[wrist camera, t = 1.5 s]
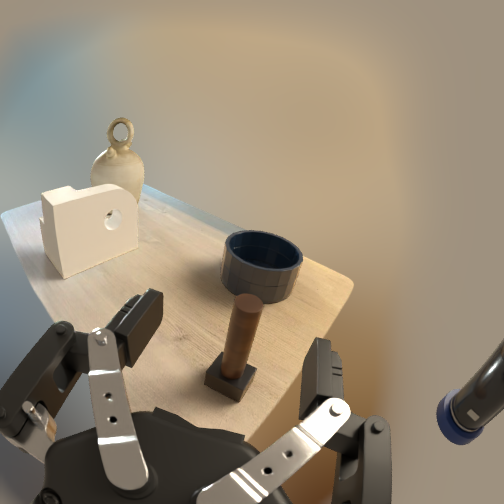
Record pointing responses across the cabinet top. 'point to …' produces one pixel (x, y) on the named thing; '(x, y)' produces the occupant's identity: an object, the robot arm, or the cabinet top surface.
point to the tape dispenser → (87, 226)
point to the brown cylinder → (236, 350)
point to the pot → (260, 265)
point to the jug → (119, 163)
